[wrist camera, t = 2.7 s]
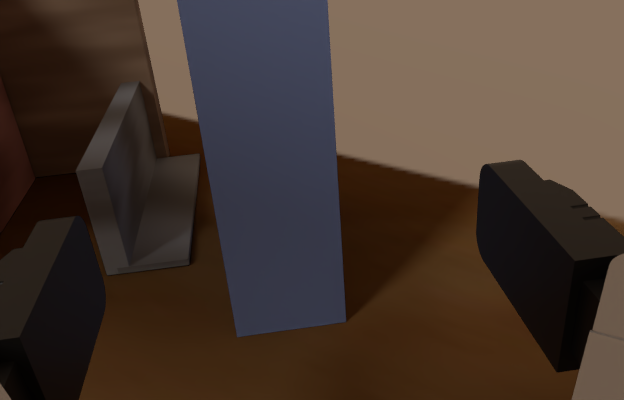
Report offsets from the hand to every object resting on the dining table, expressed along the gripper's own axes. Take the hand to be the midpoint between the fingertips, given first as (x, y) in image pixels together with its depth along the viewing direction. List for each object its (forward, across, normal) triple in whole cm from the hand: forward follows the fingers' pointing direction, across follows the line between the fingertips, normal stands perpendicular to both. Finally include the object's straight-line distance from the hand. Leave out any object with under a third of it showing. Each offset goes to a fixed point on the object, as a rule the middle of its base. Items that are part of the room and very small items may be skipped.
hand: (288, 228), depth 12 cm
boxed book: (+11, 0, +8) cm, 14 cm away
